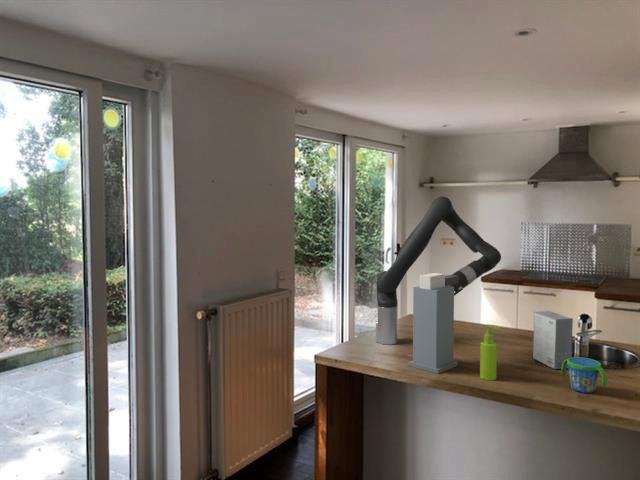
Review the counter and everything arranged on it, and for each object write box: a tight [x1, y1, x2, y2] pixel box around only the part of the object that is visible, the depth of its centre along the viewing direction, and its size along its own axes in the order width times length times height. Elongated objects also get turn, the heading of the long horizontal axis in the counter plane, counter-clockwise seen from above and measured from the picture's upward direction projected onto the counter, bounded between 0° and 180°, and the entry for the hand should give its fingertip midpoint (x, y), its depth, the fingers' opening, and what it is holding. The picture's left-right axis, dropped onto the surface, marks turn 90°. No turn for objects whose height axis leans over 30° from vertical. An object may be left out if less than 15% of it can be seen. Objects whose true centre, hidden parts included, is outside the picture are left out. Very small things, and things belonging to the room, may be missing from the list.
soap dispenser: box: [479, 324, 501, 381], centre depth 194 cm, size 6×7×20 cm
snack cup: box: [560, 356, 608, 394], centre depth 182 cm, size 16×10×10 cm
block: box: [419, 272, 459, 290], centre depth 210 cm, size 21×5×5 cm, turn 133°
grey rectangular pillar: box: [407, 285, 459, 375], centre depth 209 cm, size 14×14×32 cm
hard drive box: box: [532, 310, 574, 370], centre depth 211 cm, size 16×8×20 cm, turn 9°
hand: (434, 297), depth 219 cm, fingers open, 8 cm apart
